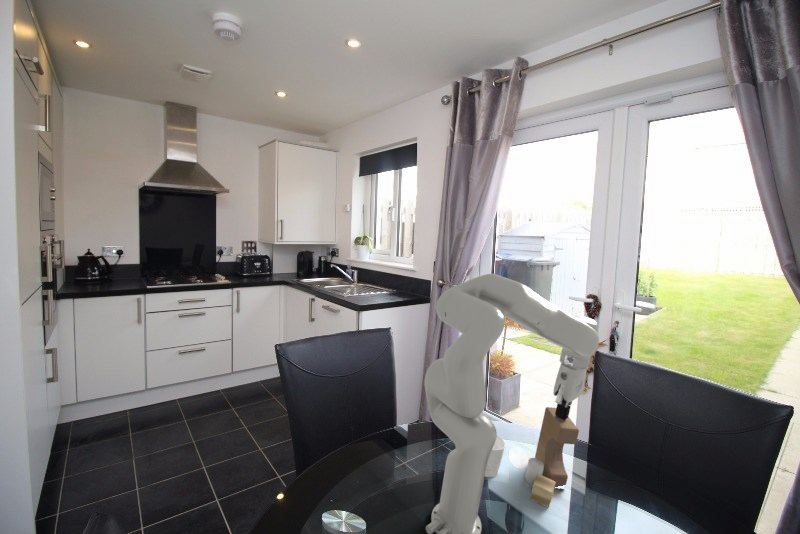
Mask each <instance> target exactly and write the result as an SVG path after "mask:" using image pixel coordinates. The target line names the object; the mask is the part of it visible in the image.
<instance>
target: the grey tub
mask: <svg viewBox="0 0 800 534" xmlns="http://www.w3.org/2000/svg"><path fill="white" fill-rule="evenodd" d="M543 469H544V464H543V462H542V461H541V460H539V459H536V458H535V457H530V458H529V459H528V462H527V468H526V472H525V476H524V480H525V482H526V483H527V484H529V485H530V486H532V485H533V484H534V481H535V479H536V477H537V474H540V475H542V473H543Z"/></svg>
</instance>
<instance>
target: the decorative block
mask: <svg viewBox="0 0 800 534" xmlns="http://www.w3.org/2000/svg"><path fill="white" fill-rule="evenodd" d="M556 408H557V407H549V406H547V407H545V410H544V413H543V419H542V422H541V429H540V432H539V438H538V442H537V444H536V445H537V446H536V450H535V456H534V458H536V459H539V460H541V461H542V462H543V464H544V469H543V473H542V476H544V477H546V478H549V479H551V480H553V481H555V482H556V484H555V487H558V486H563V485H567V481H568V477H569V475H568V474H567V471H566V468H565V463H564V456H563V452H564V447H565V445H576V444H577V441H578V437H579V433H580V430H579V428H578V427H577V426H576V424H575V423H574V422H573V421H572V419H571V417H570V416H568V418H567V419H566V420H564V419H562V418H560V417H558V416H556V415H555V412H556Z"/></svg>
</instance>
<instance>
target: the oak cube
mask: <svg viewBox="0 0 800 534" xmlns="http://www.w3.org/2000/svg"><path fill="white" fill-rule="evenodd" d="M555 484H556V482H555V481H553V480H551V479H549V478H546V477H544V476H542V475H540V474H537V477H536V479H535V481H534V484H533V486H532V488H531V489H532V490H531V494H530V500H532V501H534V502H536V503H538V504H540V505H542V504H543V505H542V506H544V505H545V506H544V507H546V506H548V507H549V508H550V505H551V502H552V500H551V499H553V497H552V496H554V492H555V489H554V488H555ZM548 507H547V508H548Z"/></svg>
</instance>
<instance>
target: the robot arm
mask: <svg viewBox="0 0 800 534" xmlns="http://www.w3.org/2000/svg"><path fill="white" fill-rule="evenodd" d="M435 311H436V314H437V317H438V319H440V321H441V322H442V323H444V324H445V325H447V326H449V327H450V328H452V329H454V330H456V331H458V332H459V333H461V334H460V335H459V337H458V338H457V339H456V340H455V341H454V342H453V343H452V344H451V345H450V346H449V347H448V348H447V349H446V350H445V353H444V354H443V357H442V358H438V359H436V360H434V361H433V362H432V363H431V364H430V365H429V367H428V368H427V369H426V373H425V376H424V381H423V382H424V383H423V384H424V390H425V396H426V401H427V406H428V412H429V416H430V418H431V420H432V422H433V424H434V425H435V426H436V427H437V428H438V429H439V430H440V431H441V433H444V434H445V436H446V437H448V438H449V439H450V440H451V441H452V443H453V444H454V446H455V448H454V449H452V450H451V451H450V452H449V453H448V454H447V457H446V461H445V466H444V472H443V473H444V474H443V480H442V485H441V492H440V499H439V502H438V503H437V504H436V505H435V506H434V507H433V509H432V512H431V517H430V520H431V522H430V523H429V524H427V525H426V526H425V531H426V533H427V534H434V533H435V534H482V528H483V526H482V522H481V517H479V515H478V513H479V509H480V503H481V500H482V499H481V498H482V492H483V486H484V482H485V471H486V466H487V462H488V459H489V456H490V453H491V451H492V448H493V446H494V444H495V441H496V437H497V435H498V432H497V428H496V426H495V424H494V423H493V422H492V420H491V418H489V417H488V416H487V415H486V414H485V413H483V412H484V410H485V408H486V403H487V392H486V384H485V375H484V360H485V357H486V356H487V354H488V352H490V349H492V347H493V346H494V344H495V343H496V342H497V340H498V339H500V336H501V335H502V333H503V331H504V327H505V318H507V319H509V320H510V321H512V322H513V323H515V324H517V325H519V326H521V327H522V328H524V329H526V330H527V331H529V332H531V333H533V334H534V335H537V336H540V337H542V338H544V339H545V340H546V341H547V342H550V343H552V344H554V345H556V346H559V347H561V352H560V357H559V362H560V366H559V369H558V371H557V375H556V377H555V378H556V379H555V383H554V386H553V387H554V388H553V396H554V397H556V398H555V401H554V402H555V403H556V407H555V408H556V412H555V415H556V416H558V417H560V418H562V419H564V420H566V419H567V418H568V417H570V416H569V415H570V411H571V406H572V404H573V401H574V400H576V399H578V398H579V397H581V396H582V395H583V392H584V387H585V383H586V377H587V373H588V372H587V371H588V369H589V365H590V361H591V356H592V355H594V353H595V352H596V351H597V349H598V348H599V344H600V337H599V334H598V323H597V321H596V320H595V319H592V318H591V317H588V316H585V315H576V314H575V315H572V314H570V313H568V312H567V311H565V310H563V309H562V308H561V307H558V306H557V305H555V304H553V303H551V302H549V301H548V300H547V299H545V298H543V297H542V296H540V295H539V294H538V293H537V292H535V291H534V290H533V289H531V288H530V287H528V286H527V285H525V284H524V283H522V282H519V281H517V280H514V279H511V278H508V277H505V276H502V275H500V274H496V273H486V274H483V275H482V274H481V275H479V276H477V277H474V278H473V277H472V279H471V278H470V279H469V280H466V281H464V282H462V283H459V284H457V285H454V286H452V287H450V288H448V289H446V290H445V291H444V292H443V293H442V294H441V295H440V296H439V298H438V300H437V302H436V306H435Z"/></svg>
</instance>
